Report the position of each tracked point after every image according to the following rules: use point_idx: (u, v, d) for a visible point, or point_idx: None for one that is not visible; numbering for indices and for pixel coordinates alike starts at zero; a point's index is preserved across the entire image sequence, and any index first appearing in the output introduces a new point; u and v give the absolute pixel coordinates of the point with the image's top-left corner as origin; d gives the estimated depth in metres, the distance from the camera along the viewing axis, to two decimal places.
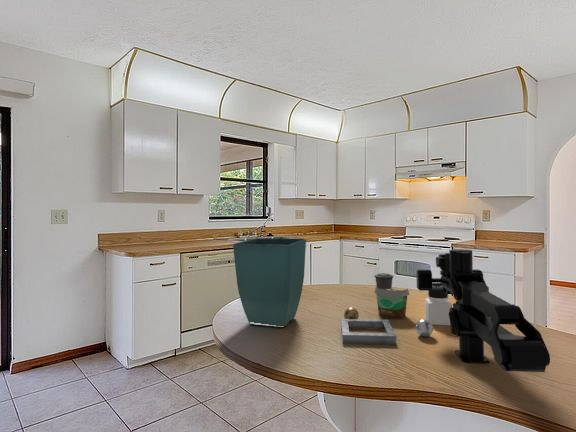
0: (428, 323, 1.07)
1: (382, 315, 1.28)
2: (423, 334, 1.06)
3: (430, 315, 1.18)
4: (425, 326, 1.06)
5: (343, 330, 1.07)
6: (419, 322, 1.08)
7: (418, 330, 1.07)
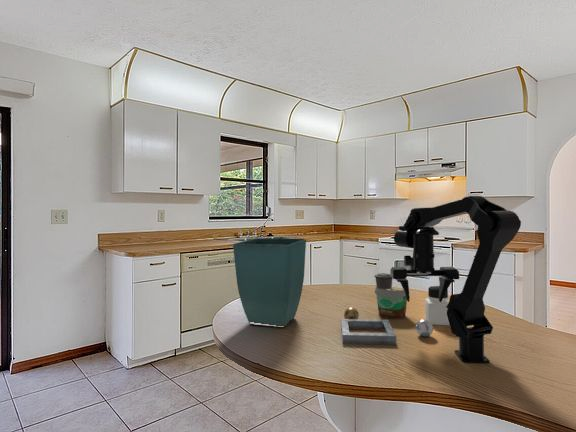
0: (428, 323, 1.07)
1: (382, 315, 1.28)
2: (423, 334, 1.06)
3: (430, 315, 1.18)
4: (425, 326, 1.06)
5: (343, 330, 1.07)
6: (419, 322, 1.08)
7: (418, 330, 1.07)
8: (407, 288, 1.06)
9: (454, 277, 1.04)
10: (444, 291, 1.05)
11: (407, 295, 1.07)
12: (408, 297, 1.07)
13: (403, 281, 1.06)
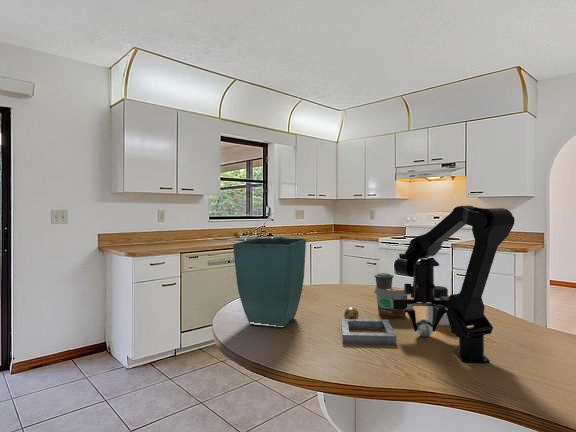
0: (428, 323, 1.07)
1: (382, 315, 1.28)
2: (423, 334, 1.06)
3: (430, 315, 1.18)
4: (425, 326, 1.06)
5: (343, 330, 1.07)
6: (419, 322, 1.08)
7: (418, 330, 1.07)
8: (414, 318, 1.06)
9: None
10: (437, 321, 1.06)
11: (414, 325, 1.07)
12: (415, 327, 1.07)
13: (410, 311, 1.06)
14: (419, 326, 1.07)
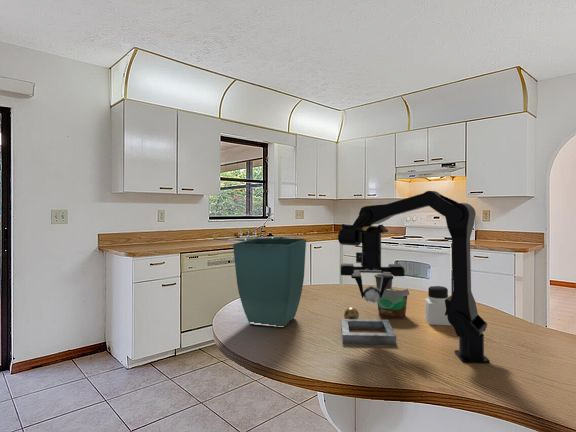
0: (375, 289, 1.09)
1: (382, 315, 1.28)
2: (369, 300, 1.08)
3: (430, 315, 1.18)
4: (372, 291, 1.08)
5: (343, 330, 1.07)
6: (366, 288, 1.10)
7: (364, 296, 1.09)
8: (361, 284, 1.08)
9: (399, 274, 1.06)
10: (383, 288, 1.08)
11: (361, 291, 1.09)
12: (362, 293, 1.09)
13: (356, 277, 1.08)
14: (366, 292, 1.09)
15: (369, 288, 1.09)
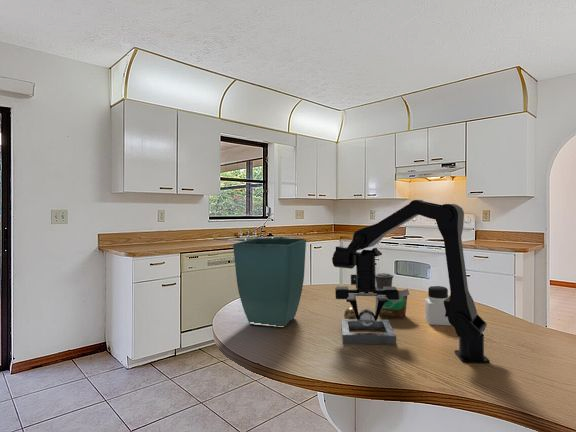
0: (370, 312, 1.09)
1: (382, 315, 1.28)
2: (365, 323, 1.08)
3: (430, 315, 1.18)
4: (367, 315, 1.08)
5: (343, 330, 1.07)
6: (361, 311, 1.10)
7: (360, 319, 1.09)
8: (356, 308, 1.08)
9: (394, 297, 1.06)
10: (378, 311, 1.08)
11: (356, 314, 1.09)
12: (357, 316, 1.09)
13: (351, 301, 1.08)
14: (361, 315, 1.09)
15: (364, 311, 1.09)
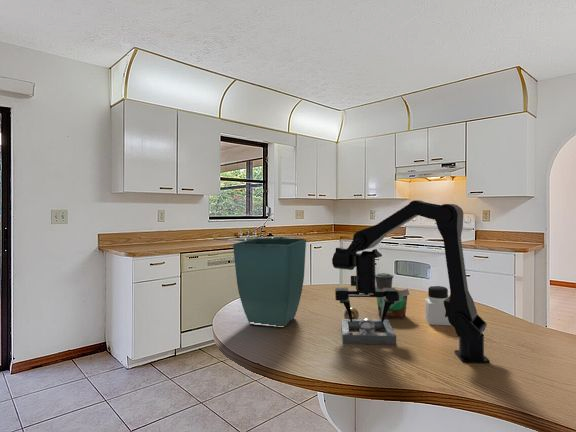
0: (370, 322, 1.09)
1: None
2: None
3: (430, 315, 1.18)
4: (367, 324, 1.08)
5: (343, 330, 1.07)
6: (362, 321, 1.10)
7: (360, 329, 1.09)
8: (349, 309, 1.09)
9: (394, 299, 1.06)
10: (385, 312, 1.08)
11: (350, 316, 1.09)
12: (351, 318, 1.10)
13: (345, 302, 1.08)
14: (361, 325, 1.09)
15: (364, 321, 1.09)
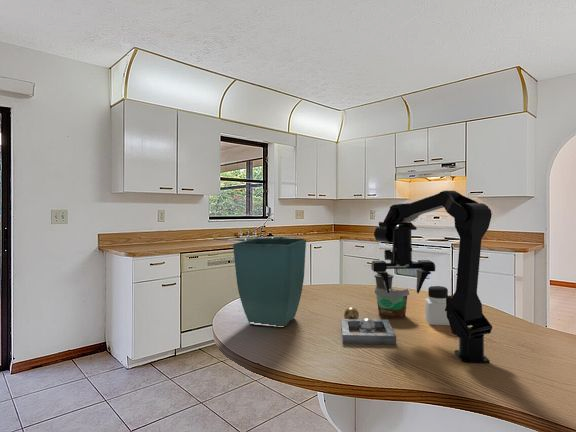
0: (370, 322, 1.09)
1: (382, 315, 1.28)
2: None
3: (430, 315, 1.18)
4: (367, 324, 1.08)
5: (343, 330, 1.07)
6: (362, 321, 1.10)
7: (360, 329, 1.09)
8: (387, 280, 1.12)
9: (430, 269, 1.10)
10: (421, 283, 1.12)
11: (387, 287, 1.13)
12: (388, 289, 1.13)
13: (383, 273, 1.12)
14: (362, 325, 1.09)
15: (365, 321, 1.09)
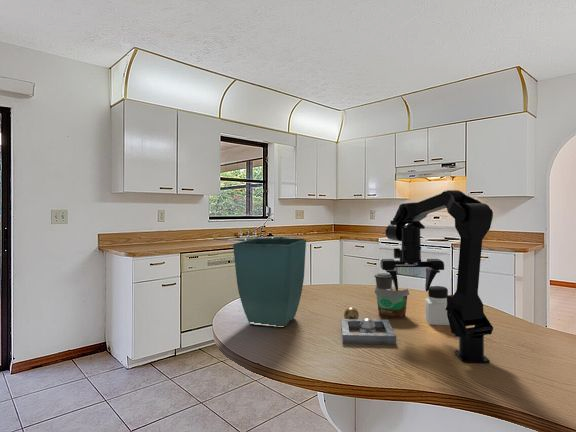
0: (371, 322, 1.09)
1: (382, 315, 1.28)
2: (365, 332, 1.08)
3: (430, 315, 1.18)
4: (368, 324, 1.08)
5: (343, 330, 1.07)
6: (363, 321, 1.10)
7: (360, 328, 1.09)
8: (396, 278, 1.14)
9: (439, 268, 1.11)
10: (430, 281, 1.13)
11: (396, 285, 1.14)
12: (397, 287, 1.15)
13: (392, 272, 1.13)
14: (362, 324, 1.09)
15: (365, 321, 1.09)
